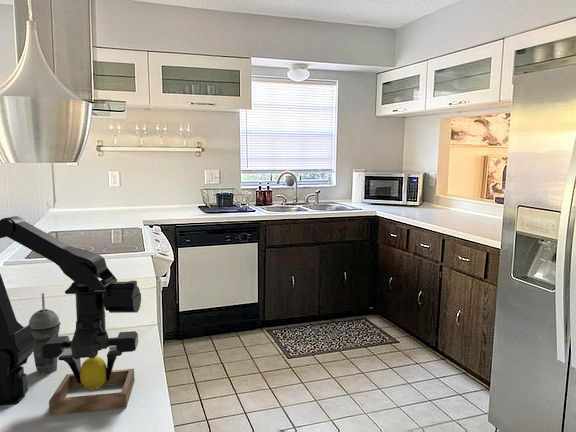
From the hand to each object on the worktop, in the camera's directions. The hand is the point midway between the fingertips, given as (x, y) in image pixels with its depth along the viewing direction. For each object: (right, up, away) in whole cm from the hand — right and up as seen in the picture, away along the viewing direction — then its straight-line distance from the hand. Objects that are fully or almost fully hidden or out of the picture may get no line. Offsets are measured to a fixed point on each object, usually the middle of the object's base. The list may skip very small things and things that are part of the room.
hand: (94, 381), depth 102 cm
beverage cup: (-18, -3, +15) cm, 23 cm away
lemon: (0, -2, 0) cm, 2 cm away
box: (0, -3, 0) cm, 4 cm away
